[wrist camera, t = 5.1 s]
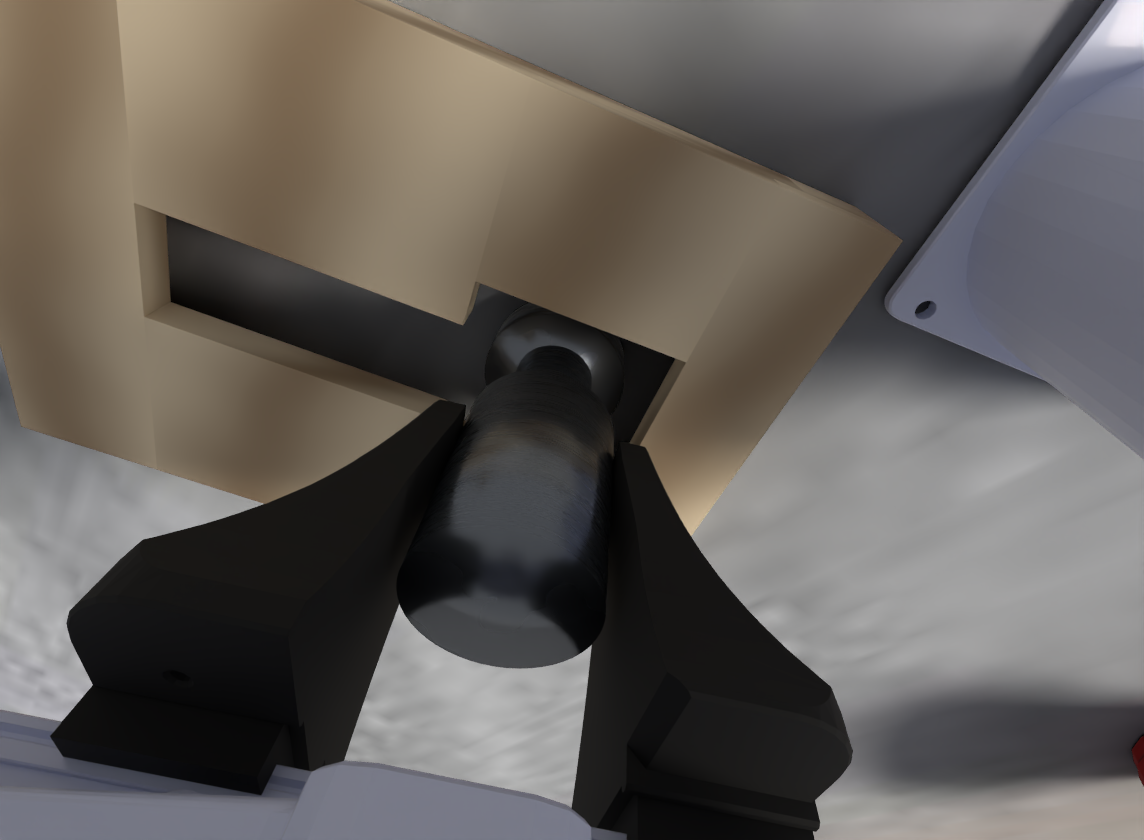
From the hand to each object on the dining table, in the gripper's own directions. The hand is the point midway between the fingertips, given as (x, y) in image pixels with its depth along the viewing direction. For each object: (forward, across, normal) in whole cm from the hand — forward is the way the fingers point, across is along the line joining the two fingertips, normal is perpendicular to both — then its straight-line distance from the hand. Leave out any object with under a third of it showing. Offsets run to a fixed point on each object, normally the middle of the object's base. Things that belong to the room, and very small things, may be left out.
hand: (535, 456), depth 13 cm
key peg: (+5, 0, 0) cm, 5 cm away
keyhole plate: (+5, +4, -1) cm, 7 cm away
